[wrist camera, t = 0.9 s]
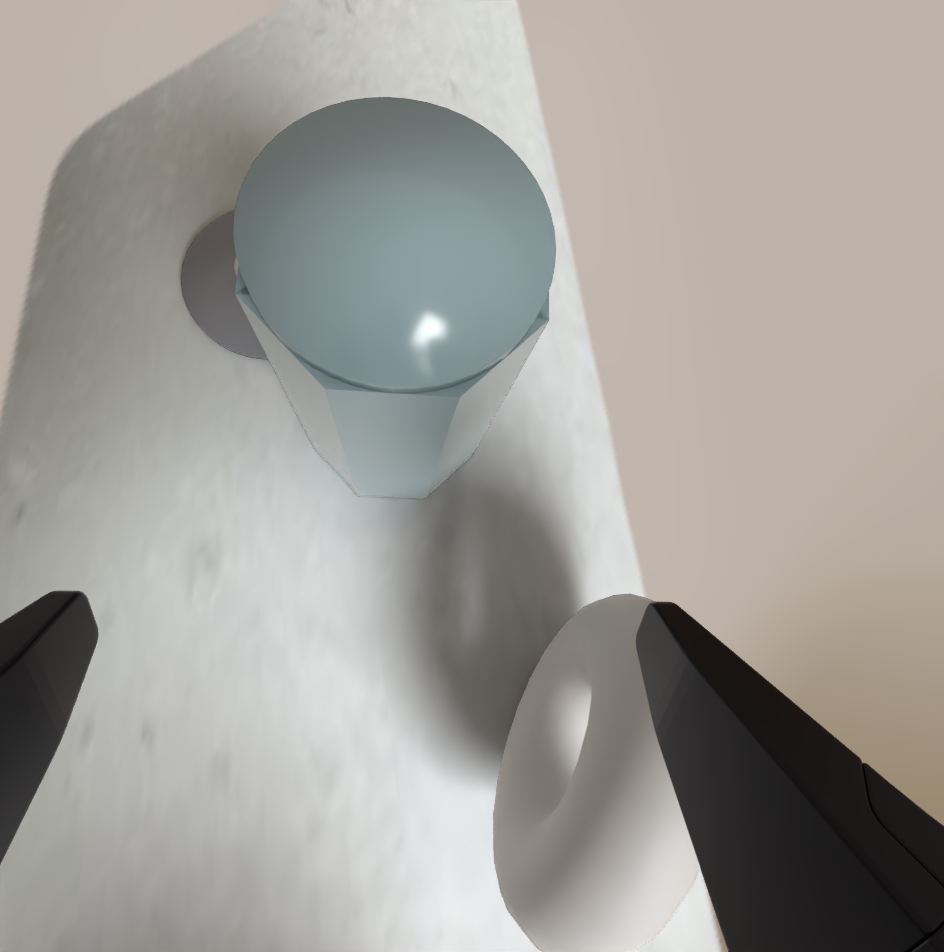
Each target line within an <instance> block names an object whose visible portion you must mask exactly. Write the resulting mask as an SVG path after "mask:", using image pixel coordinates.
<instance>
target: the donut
mask: <svg viewBox="0 0 944 952" xmlns="http://www.w3.org/2000/svg"><path fill="white" fill-rule="evenodd" d="M651 602H655V601H652V600H650V599H647V598H644V597H641V596H637V595H633V594H621V595H613V596H610V597H607V598H604V599H601V600H598V601H595V602H593V603H591V604H589V605H587V606H585V607H583V608H582V609H581V610H580V611H579V612H578V613H577V614H575V615H574V616H573V617H572V618H571V619H570V620H569V621H568V622H567V623H566V624H565V625H564V626H563V627H562V628H561V629H560V630H559V632H558V633H557V634H556V636H555V637H554V639H553V640H552V641H551V643H550V644H549V645H548V647H547V648H546V650H545V651H544V653H543V655H542V656H541V658H540V660H539V662H538V664H537V666H536V668H535V670H534V671H533V673H532V675H531V677H530V679H529V681H528V684H527V686H526V689H525V691H524V693H523V696H522V698H521V701H520V703H519V705H518V708H517V711H516V714H515V717H514V720H513V723H512V726H511V729H510V732H509V736H508V739H507V742H506V746H505V750H504V754H503V759H502V763H501V767H500V772H499V776H498V782H497V789H496V797H495V805H494V813H493V850H494V864H495V869H496V873H497V878H498V883H499V887H500V892H501V894H502V897H503V900H504V902H505V905H506V908H507V910H508V912H509V913H510V914H511V916H512V917H513V918H514V920H515V921H516V922H517V924H518V925H519V926H520V928H521V929H522V930H523V932H524V933H525V934H526V935H527V937H528V938H529V939H530V941H531V942H532V943H533V944H534V946H535V947H536V948H537V949H538V950H540V951H541V952H635V951H636V950H638V949H639V948H641V947H642V946H644V945H645V944H647V943H649V942H650V941H652V940H653V939H654V938H655V937H656V936H657V935H658V934H659V933H660V932H661V931H662V929H663V928H664V927H665V926H666V924H667V923H668V921H669V920H670V918H671V917H672V916H673V914H674V913H675V911H676V910H677V908H678V907H679V905H680V904H681V902H682V901H683V899H684V898H685V896H686V895H687V894H688V892H689V891H690V889H691V888H692V886H693V885H694V882H695V879H696V876H697V874H698V871H699V868H700V865H699V862H698V860H697V857H696V854H695V851H694V848H693V845H692V842H691V839H690V836H689V833H688V830H687V827H686V824H685V821H684V818H683V815H682V812H681V809H680V806H679V803H678V800H677V797H676V794H675V791H674V788H673V785H672V782H671V779H670V776H669V773H668V770H667V767H666V764H665V761H664V758H663V755H662V752H661V749H660V746H659V743H658V740H657V737H656V733H655V730H654V726H653V722H652V718H651V713H650V709H649V704H648V699H647V695H646V690H645V686H644V681H643V677H642V672H641V668H640V663H639V659H638V654H637V650H636V634H637V631H638V628H639V626H640V623H641V621H642V618H643V615H644V613H645V610H646V608H647V606H648V605H649V604H650V603H651Z"/></svg>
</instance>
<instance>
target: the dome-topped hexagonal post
mask: <svg viewBox="0 0 944 952" xmlns="http://www.w3.org/2000/svg"><path fill="white" fill-rule="evenodd" d="M233 235H234V244H235V253H236V257H237V261H238V273H237V282H236V291H235V295H236V296H237V298H238V300H239V302H240V304H241V306H242V308H243V310H244V312H245V314H246V316H247V318H248V320H249V322H250V324H251V326H252V328H253V330H254V332H255V334H256V336H257V338H258V340H259V342H260V344H261V346H262V348H263V350H264V352H265V354H266V355H267V357H268V359H269V361H270V363H271V365H272V367H273V369H274V371H275V373H276V375H277V377H278V379H279V381H280V383H281V385H282V387H283V389H284V391H285V393H286V395H287V397H288V399H289V401H290V403H291V405H292V407H293V409H294V411H295V413H296V414H297V416H298V418H299V420H300V422H301V424H302V426H303V428H304V430H305V432H306V434H307V436H308V438H309V440H310V442H311V444H312V446H313V448H314V449H315V450H316V451H317V452H318V453H319V455H320V456H321V457H322V458H323V459H324V460H325V461H326V462H327V463H328V464H329V465H330V466H331V467H332V468H333V470H334V471H335V472H336V473H337V474H338V475H339V476H340V477H341V478H342V479H343V480H344V481H345V482H346V483H347V485H348V486H349V487H350V488H351V489H352V490H353V491H354V492H355V493H356V494H357V495H358V496H362V497H387V498H412V499H426V498H427V497H428V496H429V495H430V494H431V493H432V492H433V491H434V490H435V489H437V488H438V487H439V486H440V485H441V484H442V483H443V482H444V481H445V480H446V479H447V478H449V477H450V476H451V475H452V474H453V473H454V472H455V471H456V470H457V469H458V468H460V467H461V466H462V465H463V464H464V463H465V462H466V461H467V460H468V459H469V458H470V457H472V455H473V453H474V451H475V450H476V448H477V446H478V444H479V443H480V441H481V439H482V437H483V436H484V434H485V432H486V430H487V429H488V427H489V425H490V423H491V421H492V420H493V418H494V416H495V414H496V413H497V411H498V409H499V407H500V406H501V404H502V402H503V400H504V399H505V397H506V395H507V393H508V392H509V390H510V388H511V386H512V384H513V383H514V381H515V379H516V377H517V376H518V374H519V372H520V370H521V369H522V367H523V365H524V363H525V362H526V360H527V358H528V356H529V355H530V353H531V351H532V349H533V347H534V346H535V344H536V342H537V340H538V339H539V337H540V335H541V333H542V332H543V330H544V328H545V326H546V325H547V323H548V321H549V288H550V286H551V283H552V278H553V273H554V268H555V256H556V243H555V231H554V226H553V222H552V217H551V213H550V210H549V207H548V205H547V202H546V199H545V197H544V194H543V192H542V191H541V189H540V187H539V185H538V183H537V181H536V179H535V178H534V176H533V175H532V173H531V172H530V171H529V169H528V168H527V166H526V165H525V163H524V162H523V161H522V160H521V159H520V158H519V157H518V156H517V154H516V153H515V152H514V151H513V150H512V149H511V148H510V147H509V146H508V145H506V144H505V143H504V142H503V141H502V140H501V139H500V138H499V137H497V136H496V135H495V134H493V133H492V132H490V131H489V130H488V129H486V128H485V127H483V126H482V125H480V124H478V123H477V122H475V121H473V120H471V119H469V118H468V117H466V116H464V115H461V114H459V113H457V112H454V111H452V110H449V109H447V108H444V107H441V106H437V105H434V104H431V103H427V102H422V101H417V100H412V99H404V98H391V97H379V98H363V99H356V100H350V101H345V102H341V103H338V104H334V105H330V106H327V107H325V108H322V109H320V110H317V111H315V112H312V113H310V114H308V115H307V116H305V117H303V118H301V119H299V120H298V121H296V122H294V123H293V124H291V125H290V126H289V127H287V128H286V129H285V130H283V131H282V132H280V133H279V134H278V135H277V136H276V137H275V138H274V139H273V140H272V141H271V142H270V143H269V144H268V145H267V146H266V147H265V148H264V149H263V151H262V152H261V153H260V154H259V156H258V157H257V158H256V160H255V161H254V162H253V164H252V166H251V168H250V170H249V171H248V173H247V175H246V177H245V179H244V181H243V184H242V187H241V190H240V192H239V195H238V199H237V204H236V209H235V214H234V232H233Z"/></svg>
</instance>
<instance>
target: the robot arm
mask: <svg viewBox="0 0 944 952" xmlns="http://www.w3.org/2000/svg"><path fill="white" fill-rule="evenodd" d="M97 640H98V627H97V624H96V621H95V618H94V615H93V612H92V610H91V607H90V604H89V601H88V598H87V596H86V595H85V594H84V593H83V592H80V591H53V592H50V593H48V594H46V595H44V596H43V597H41V598H40V599H38V600H37V601H35V602H33V603H32V604H30V605H29V606H27V607H25V608H24V609H22V610H21V611H19V612H17V613H16V614H14V615H13V616H11V617H10V618H8V619H6V620H5V621H3V622H2V623H0V864H1V862H2V860H3V858H4V856H5V854H6V852H7V850H8V848H9V846H10V844H11V842H12V840H13V838H14V836H15V834H16V832H17V830H18V828H19V826H20V824H21V822H22V820H23V818H24V816H25V814H26V812H27V810H28V808H29V805H30V803H31V801H32V799H33V797H34V795H35V793H36V791H37V789H38V787H39V785H40V783H41V781H42V779H43V777H44V775H45V773H46V771H47V769H48V767H49V765H50V763H51V761H52V759H53V757H54V755H55V752H56V750H57V748H58V746H59V744H60V742H61V739H62V737H63V734H64V732H65V729H66V727H67V724H68V722H69V719H70V716H71V713H72V711H73V708H74V705H75V702H76V700H77V697H78V694H79V691H80V689H81V686H82V683H83V680H84V678H85V675H86V672H87V669H88V667H89V664H90V661H91V658H92V656H93V653H94V650H95V647H96V644H97ZM636 650H637V654H638V659H639V663H640V668H641V672H642V677H643V681H644V686H645V690H646V695H647V699H648V704H649V709H650V713H651V718H652V722H653V726H654V730H655V733H656V737H657V740H658V743H659V746H660V749H661V752H662V755H663V758H664V761H665V764H666V767H667V770H668V773H669V776H670V779H671V782H672V785H673V788H674V791H675V794H676V797H677V800H678V803H679V806H680V809H681V812H682V815H683V818H684V821H685V824H686V827H687V830H688V833H689V836H690V839H691V842H692V845H693V848H694V851H695V854H696V857H697V860H698V862H699V865H700V868H701V871H702V874H703V877H704V880H705V883H706V886H707V889H708V892H709V895H710V898H711V901H712V904H713V907H714V910H715V913H716V916H717V919H718V922H719V925H720V928H721V931H722V934H723V937H724V940H725V943H726V946H727V949H728V952H944V826H943V825H942V824H940V823H939V822H938V821H937V820H935V819H934V818H933V817H931V816H930V815H929V814H927V813H926V812H925V811H924V810H922V809H921V808H920V807H919V806H918V805H916V804H915V803H914V802H912V801H911V800H910V799H909V798H908V797H906V796H905V795H904V794H903V793H902V792H900V791H899V790H898V789H897V788H895V787H894V786H893V785H892V784H890V783H889V782H888V781H887V780H886V779H884V778H883V777H882V776H881V775H880V774H878V773H877V772H876V771H875V770H874V769H873V768H871V767H870V766H869V765H868V764H866V763H862V761H861V759H860V758H859V757H858V756H857V755H856V754H854V753H853V752H852V751H851V750H849V749H848V748H847V747H846V746H845V745H844V744H842V743H841V742H840V741H839V740H838V739H837V738H835V737H834V736H833V735H832V734H831V733H829V732H828V731H827V730H826V729H825V728H823V727H822V726H821V725H820V724H819V723H817V722H816V721H815V720H814V719H813V718H811V717H810V716H809V715H808V714H807V713H805V712H804V711H803V710H802V709H801V708H800V707H798V706H797V705H796V704H795V703H794V702H792V701H791V700H790V699H789V698H788V697H786V696H785V695H784V694H783V693H782V692H780V691H779V690H778V689H777V688H776V687H774V686H773V685H772V684H771V683H770V682H769V681H767V680H766V679H765V678H764V677H763V676H761V675H760V674H759V673H758V672H757V671H755V670H754V669H753V668H752V667H750V666H749V665H748V664H747V663H746V662H745V661H743V660H742V659H741V658H740V657H739V656H738V655H736V654H735V653H734V652H733V651H732V650H730V649H729V648H728V647H727V646H726V645H724V644H723V643H722V642H721V641H720V640H718V639H717V638H716V637H715V636H713V635H712V634H711V633H710V632H709V631H708V630H707V629H705V628H704V627H703V626H702V625H700V624H699V623H698V622H697V621H696V620H695V619H693V618H692V617H691V616H690V615H688V614H687V613H686V612H685V611H684V610H683V609H681V608H680V607H679V606H678V605H676V604H675V603H672V602H651V603H650V604H649V605H648V606H647V608H646V610H645V613H644V615H643V618H642V621H641V623H640V626H639V628H638V631H637V634H636Z"/></svg>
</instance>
